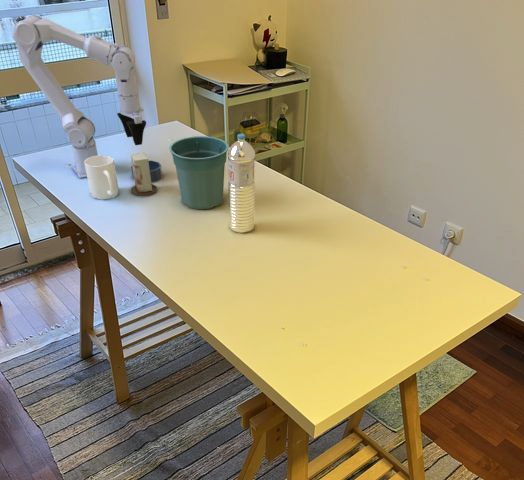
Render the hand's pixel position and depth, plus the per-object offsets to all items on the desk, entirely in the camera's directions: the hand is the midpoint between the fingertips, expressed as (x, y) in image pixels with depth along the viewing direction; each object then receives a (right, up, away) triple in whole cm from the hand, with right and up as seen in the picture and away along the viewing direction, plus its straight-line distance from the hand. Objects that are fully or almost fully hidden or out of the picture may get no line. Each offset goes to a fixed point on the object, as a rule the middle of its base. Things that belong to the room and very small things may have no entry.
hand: (134, 140), depth 168 cm
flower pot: (+22, -21, -8) cm, 32 cm away
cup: (-7, -19, -6) cm, 21 cm away
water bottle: (+34, -32, -20) cm, 51 cm away
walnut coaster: (+4, -17, -3) cm, 17 cm away
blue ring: (+3, -10, +5) cm, 11 cm away
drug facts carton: (+4, -16, -3) cm, 17 cm away
